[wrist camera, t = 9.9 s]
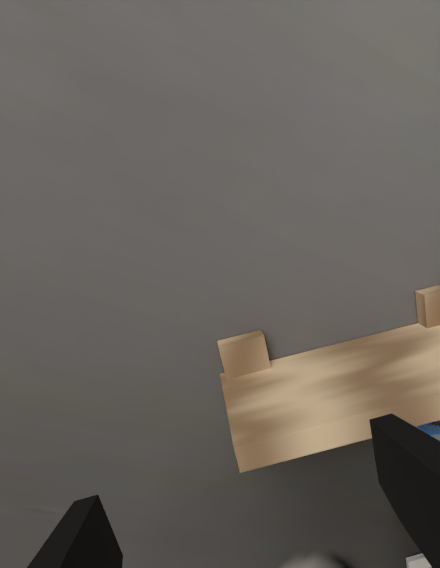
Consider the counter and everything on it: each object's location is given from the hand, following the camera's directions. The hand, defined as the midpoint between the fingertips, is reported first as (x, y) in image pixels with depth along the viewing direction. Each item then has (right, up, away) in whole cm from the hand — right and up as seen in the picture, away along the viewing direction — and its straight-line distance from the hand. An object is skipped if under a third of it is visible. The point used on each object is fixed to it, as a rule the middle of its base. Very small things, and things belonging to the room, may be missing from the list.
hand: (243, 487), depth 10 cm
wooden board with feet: (+6, +2, +11) cm, 13 cm away
